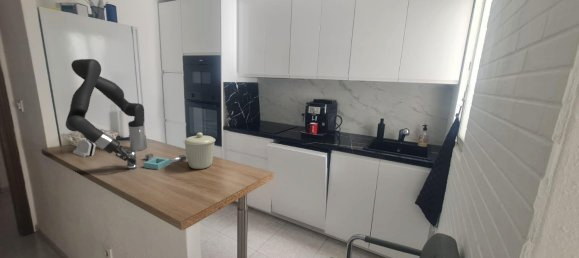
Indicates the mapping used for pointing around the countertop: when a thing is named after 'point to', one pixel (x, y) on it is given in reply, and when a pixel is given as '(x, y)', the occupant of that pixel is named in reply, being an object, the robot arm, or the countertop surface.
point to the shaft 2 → (178, 159)
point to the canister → (199, 150)
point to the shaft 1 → (149, 157)
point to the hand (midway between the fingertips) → (134, 160)
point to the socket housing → (156, 163)
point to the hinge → (85, 148)
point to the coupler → (133, 156)
